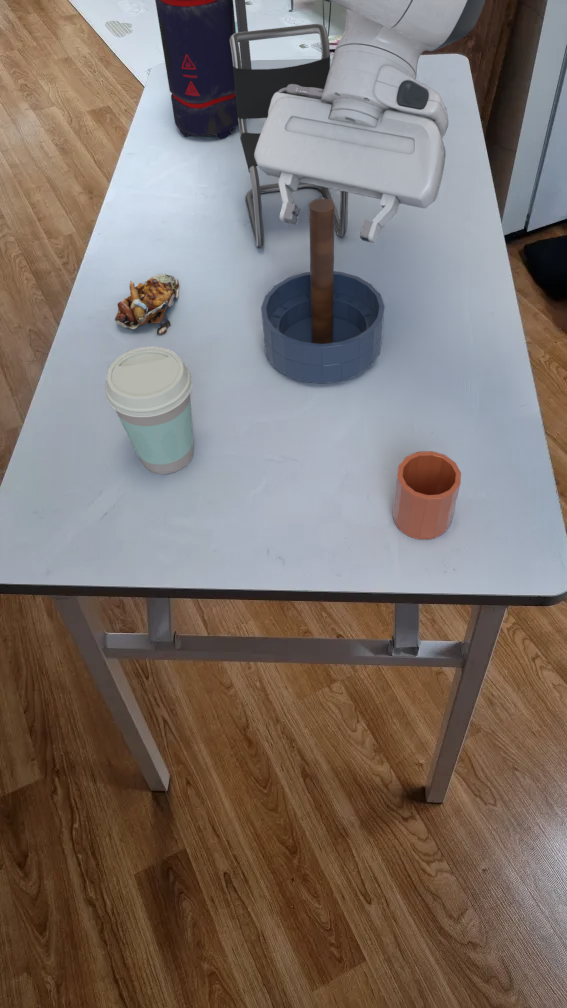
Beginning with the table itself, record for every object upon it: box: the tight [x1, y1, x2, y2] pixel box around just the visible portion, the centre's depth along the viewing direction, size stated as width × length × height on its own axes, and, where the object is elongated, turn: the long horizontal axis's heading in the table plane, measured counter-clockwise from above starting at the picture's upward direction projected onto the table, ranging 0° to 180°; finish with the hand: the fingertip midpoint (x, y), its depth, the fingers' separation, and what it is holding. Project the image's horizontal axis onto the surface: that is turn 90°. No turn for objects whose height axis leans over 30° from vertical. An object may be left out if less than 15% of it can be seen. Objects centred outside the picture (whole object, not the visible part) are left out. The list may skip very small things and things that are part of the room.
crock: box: [392, 450, 462, 541], centre depth 70 cm, size 6×6×6 cm
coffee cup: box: [104, 345, 194, 475], centre depth 74 cm, size 8×8×12 cm
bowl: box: [260, 270, 385, 384], centre depth 86 cm, size 14×14×6 cm
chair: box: [230, 23, 349, 248], centre depth 98 cm, size 13×17×22 cm
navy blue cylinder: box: [154, 0, 253, 140], centre depth 114 cm, size 14×12×30 cm
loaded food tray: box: [114, 273, 180, 336], centre depth 94 cm, size 7×12×4 cm, turn 173°
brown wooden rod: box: [308, 198, 336, 344], centre depth 81 cm, size 3×3×18 cm
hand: (326, 231), depth 77 cm, fingers open, 8 cm apart
